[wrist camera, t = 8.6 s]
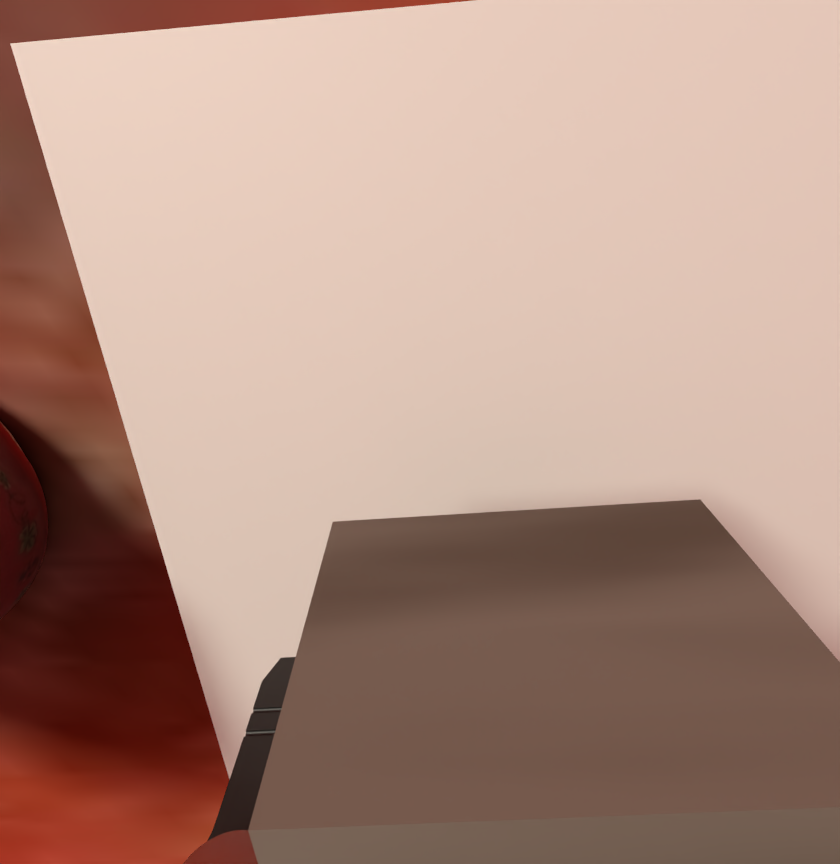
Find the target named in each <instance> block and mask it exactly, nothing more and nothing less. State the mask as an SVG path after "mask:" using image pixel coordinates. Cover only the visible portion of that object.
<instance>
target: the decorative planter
mask: <svg viewBox="0 0 840 864" xmlns="http://www.w3.org/2000/svg"><path fill="white" fill-rule="evenodd" d="M47 535H48V516H47V506H46V501H45V497H44V494H43V490H42V487H41V485H40V482H39V480H38V477H37V475H36V473H35V471H34V469H33V467H32V465H31V464H30V462H29V461H28V459H27V458H26V456H25V454H24V453H23V451H22V450H21V448H20V446H19V445H18V443H17V442H16V440H15V439H14V437H13V436H12V434H11V433H10V432H9V431H8V429H7V428H6V427H5V426H4V425H3V424H2V423H1V422H0V619H1V618H2V617H3V616H4V615H6V614H7V613H8V612H9V611H10V610H11V609H12V608H13V607H14V605H15V604H16V603H17V602H18V601H19V600H20V599H21V597H22V596H23V595H24V594H25V592H26V591H27V590H28V588H29V587H30V585H31V583H32V582H33V580H34V578H35V576H36V574H37V572H38V570H39V568H40V565H41V563H42V560H43V557H44V554H45V550H46V544H47Z"/></svg>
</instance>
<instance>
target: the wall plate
mask: <svg viewBox="0 0 840 864" xmlns="http://www.w3.org/2000/svg"><path fill="white" fill-rule="evenodd" d="M11 47H12V50H13V54H14V57H15V60H16V64H17V67H18V70H19V74H20V77H21V81H22V84H23V87H24V91H25V94H26V97H27V101H28V104H29V107H30V111H31V114H32V117H33V121H34V124H35V128H36V131H37V134H38V138H39V141H40V144H41V148H42V151H43V154H44V158H45V161H46V165H47V168H48V171H49V175H50V178H51V181H52V185H53V188H54V191H55V195H56V198H57V201H58V205H59V208H60V212H61V215H62V218H63V222H64V225H65V228H66V232H67V235H68V238H69V242H70V245H71V249H72V252H73V255H74V259H75V262H76V265H77V269H78V272H79V275H80V279H81V282H82V285H83V289H84V292H85V296H86V299H87V302H88V306H89V309H90V312H91V316H92V319H93V322H94V326H95V329H96V333H97V336H98V339H99V343H100V346H101V349H102V353H103V356H104V359H105V363H106V366H107V370H108V373H109V376H110V380H111V383H112V386H113V390H114V393H115V396H116V400H117V403H118V406H119V410H120V413H121V417H122V420H123V423H124V427H125V430H126V433H127V437H128V440H129V443H130V447H131V450H132V454H133V457H134V460H135V464H136V467H137V470H138V474H139V477H140V480H141V484H142V487H143V490H144V494H145V497H146V501H147V504H148V507H149V511H150V514H151V517H152V521H153V524H154V527H155V531H156V534H157V538H158V541H159V544H160V548H161V551H162V554H163V558H164V561H165V564H166V568H167V571H168V575H169V578H170V581H171V585H172V588H173V591H174V595H175V598H176V601H177V605H178V608H179V611H180V615H181V618H182V622H183V625H184V628H185V632H186V635H187V638H188V642H189V645H190V648H191V652H192V655H193V659H194V662H195V665H196V669H197V672H198V675H199V679H200V682H201V685H202V689H203V692H204V695H205V699H206V702H207V706H208V709H209V712H210V716H211V719H212V722H213V726H214V729H215V732H216V736H217V739H218V743H219V746H220V749H221V753H222V756H223V759H224V763H225V766H226V769H227V773H228V776H229V779H230V777H231V774H232V771H233V768H234V765H235V762H236V759H237V756H238V753H239V750H240V746H241V743H242V740H243V737H245V736H246V728H247V725H248V722H249V719H250V716H251V713H253V707H254V704H255V701H256V698H257V695H258V692H259V688H260V685H261V682H262V680H263V679H264V678H265V677H266V675H267V674H268V673H269V672H270V671H271V669H272V668H273V667H274V666H275V664H276V663H277V662H278V661H279V659H280V658H285V657H296V654H297V650H298V647H299V643H300V639H301V636H302V632H303V628H304V625H305V621H306V617H307V614H308V610H309V606H310V603H311V599H312V596H313V592H314V588H315V585H316V581H317V577H318V574H319V570H320V566H321V563H322V559H323V555H324V552H325V548H326V544H327V541H328V537H329V534H330V530H331V526H332V523H333V522H334V521H351V520H367V519H384V518H400V517H417V516H433V515H450V514H466V513H483V512H499V511H516V510H532V509H549V508H566V507H582V506H599V505H615V504H632V503H648V502H665V501H681V500H698V499H700V500H701V501H702V502H703V503H704V504H705V506H706V507H707V508H708V509H709V510H710V511H711V513H712V514H713V515H714V516H715V517H716V518H717V520H718V521H719V522H720V523H721V524H722V525H723V527H724V528H725V529H726V530H727V531H728V532H729V534H730V535H731V536H732V537H733V538H734V539H735V541H736V542H737V543H738V544H739V545H740V546H741V548H742V549H743V550H744V551H745V552H746V553H747V555H748V556H749V557H750V558H751V559H752V560H753V562H754V563H755V564H756V565H757V566H758V567H759V569H760V570H761V571H762V572H763V573H764V574H765V576H766V577H767V578H768V579H769V580H770V581H771V583H772V584H773V585H774V586H775V587H776V588H777V590H778V591H779V592H780V593H781V594H782V595H783V597H784V598H785V599H786V600H787V601H788V602H789V603H790V605H791V606H792V607H793V608H794V609H795V610H796V612H797V613H798V614H799V615H800V616H801V617H802V619H803V620H804V621H805V622H806V623H807V624H808V626H809V627H810V628H811V629H812V630H813V631H814V633H815V634H816V635H817V636H818V637H819V638H820V640H821V641H822V642H823V643H824V644H825V645H826V647H827V648H828V649H829V650H830V651H831V652H832V654H833V655H834V656H835V657H836V658H837V659H838V661H839V662H840V0H476V1H465V2H454V3H443V4H432V5H422V6H411V7H400V8H389V9H379V10H368V11H357V12H346V13H335V14H325V15H314V16H303V17H292V18H282V19H271V20H260V21H249V22H238V23H228V24H217V25H206V26H195V27H185V28H174V29H163V30H152V31H141V32H131V33H120V34H109V35H98V36H88V37H77V38H66V39H55V40H44V41H34V42H23V43H12V44H11Z"/></svg>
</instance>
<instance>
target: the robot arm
mask: <svg viewBox="0 0 840 864" xmlns="http://www.w3.org/2000/svg"><path fill="white" fill-rule="evenodd" d="M295 658H296V657H285V658H280V659H279V661H278V662H277V663H276V664H275V666H274V667H273V668H272V669H271V671H270V672H269V673H268V674H267V675H266V677H265V678H264V679H263V680H262V682H261V685H260V688H259V692H258V695H257V698H256V701H255V704H254V707H253V713H251V716H250V719H249V722H248V725H247V728H246V736H245V737H243V740H242V743H241V746H240V750H239V753H238V756H237V759H236V762H235V765H234V768H233V771H232V774H231V777H230V780H229V783H228V786H227V789H226V792H225V795H224V798H223V801H222V805H221V808H220V811H219V814H218V817H217V820H216V823H215V826H214V828H213V831H212V833H211V835H210V837H209V839H208V841H207V842H206V843H204V844H203V845H201V846H200V847H199V848H198V849H197V850H195V851H194V852H193V853H192V854H191V855H190V856H189V857H188V859H187V860H186V861H185V862H184V863H183V864H258V862H257V859H256V855H255V852H254V849H253V845H252V842H251V839H250V835H249V832H248V829H249V825H250V822H251V818H252V814H253V811H254V807H255V803H256V800H257V796H258V793H259V789H260V785H261V782H262V778H263V774H264V771H265V767H266V763H267V760H268V756H269V752H270V749H271V745H272V741H273V738H274V734H275V730H276V727H277V723H278V720H279V716H280V712H281V709H282V705H283V701H284V698H285V694H286V690H287V687H288V683H289V679H290V676H291V672H292V668H293V665H294V661H295Z"/></svg>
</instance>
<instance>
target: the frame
mask: <svg viewBox="0 0 840 864" xmlns="http://www.w3.org/2000/svg"><path fill="white" fill-rule="evenodd" d="M248 832H249V835H250V839H251V842H252V845H253V849H254V852H255V855H256V859H257V862H258V864H840V662H839V661H838V659H837V658H836V657H835V656H834V655H833V654H832V652H831V651H830V650H829V649H828V648H827V647H826V645H825V644H824V643H823V642H822V641H821V640H820V638H819V637H818V636H817V635H816V634H815V633H814V631H813V630H812V629H811V628H810V627H809V626H808V624H807V623H806V622H805V621H804V620H803V619H802V617H801V616H800V615H799V614H798V613H797V612H796V610H795V609H794V608H793V607H792V606H791V605H790V603H789V602H788V601H787V600H786V599H785V598H784V597H783V595H782V594H781V593H780V592H779V591H778V590H777V588H776V587H775V586H774V585H773V584H772V583H771V581H770V580H769V579H768V578H767V577H766V576H765V574H764V573H763V572H762V571H761V570H760V569H759V567H758V566H757V565H756V564H755V563H754V562H753V560H752V559H751V558H750V557H749V556H748V555H747V553H746V552H745V551H744V550H743V549H742V548H741V546H740V545H739V544H738V543H737V542H736V541H735V539H734V538H733V537H732V536H731V535H730V534H729V532H728V531H727V530H726V529H725V528H724V527H723V525H722V524H721V523H720V522H719V521H718V520H717V518H716V517H715V516H714V515H713V514H712V513H711V511H710V510H709V509H708V508H707V507H706V506H705V504H704V503H703V502H702V501H701V500H700V499H698V500H681V501H665V502H648V503H632V504H615V505H599V506H582V507H566V508H549V509H532V510H516V511H499V512H483V513H466V514H450V515H433V516H417V517H400V518H384V519H367V520H351V521H334V522H333V523H332V526H331V530H330V534H329V537H328V541H327V544H326V548H325V552H324V555H323V559H322V563H321V566H320V570H319V574H318V577H317V581H316V585H315V588H314V592H313V596H312V599H311V603H310V606H309V610H308V614H307V617H306V621H305V625H304V628H303V632H302V636H301V639H300V643H299V647H298V650H297V654H296V658H295V661H294V665H293V668H292V672H291V676H290V679H289V683H288V687H287V690H286V694H285V698H284V701H283V705H282V709H281V712H280V716H279V720H278V723H277V727H276V730H275V734H274V738H273V741H272V745H271V749H270V752H269V756H268V760H267V763H266V767H265V771H264V774H263V778H262V782H261V785H260V789H259V793H258V796H257V800H256V803H255V807H254V811H253V814H252V818H251V822H250V825H249V829H248Z"/></svg>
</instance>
